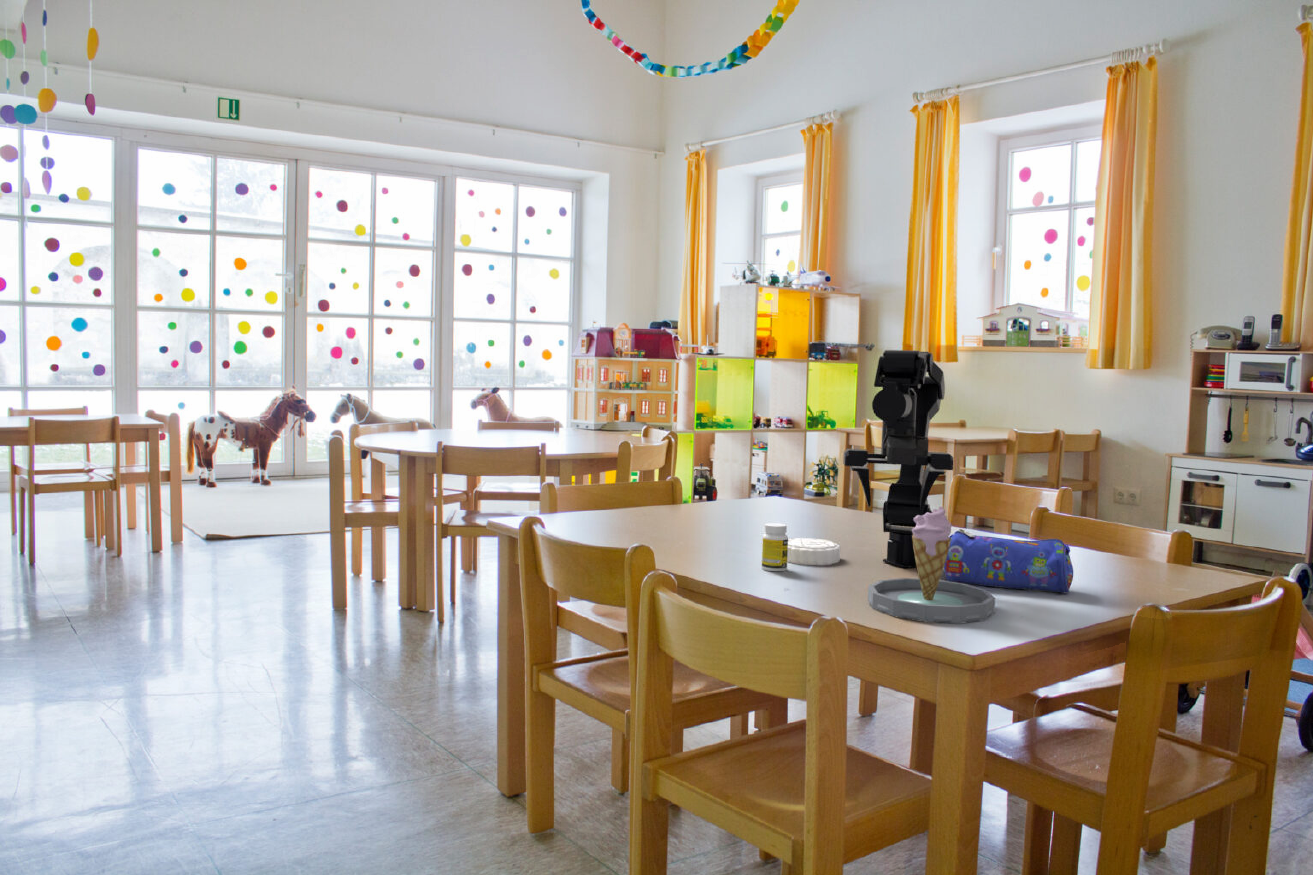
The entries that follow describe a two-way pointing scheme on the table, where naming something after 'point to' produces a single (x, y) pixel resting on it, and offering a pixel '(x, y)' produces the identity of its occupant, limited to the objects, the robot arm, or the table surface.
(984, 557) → the pencil case
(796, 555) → the mooncake
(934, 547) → the ice cream cone
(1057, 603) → the table surface
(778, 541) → the supplement bottle
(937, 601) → the round tray
